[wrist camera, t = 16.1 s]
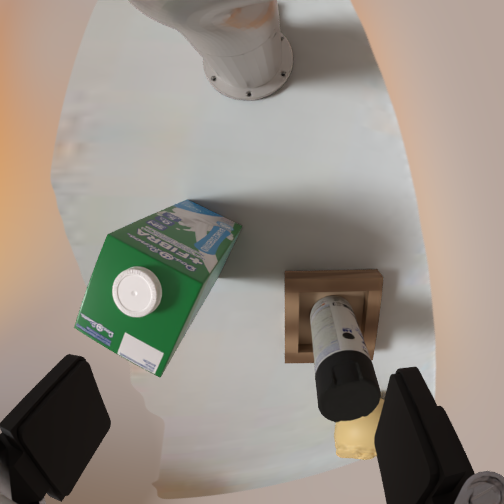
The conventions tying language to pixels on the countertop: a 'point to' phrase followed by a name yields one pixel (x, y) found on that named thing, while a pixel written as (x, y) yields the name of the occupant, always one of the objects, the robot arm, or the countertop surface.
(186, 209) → the milk carton
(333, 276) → the socket block
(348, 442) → the sculpture
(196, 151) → the countertop surface
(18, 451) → the robot arm
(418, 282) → the countertop surface
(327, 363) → the spray can
